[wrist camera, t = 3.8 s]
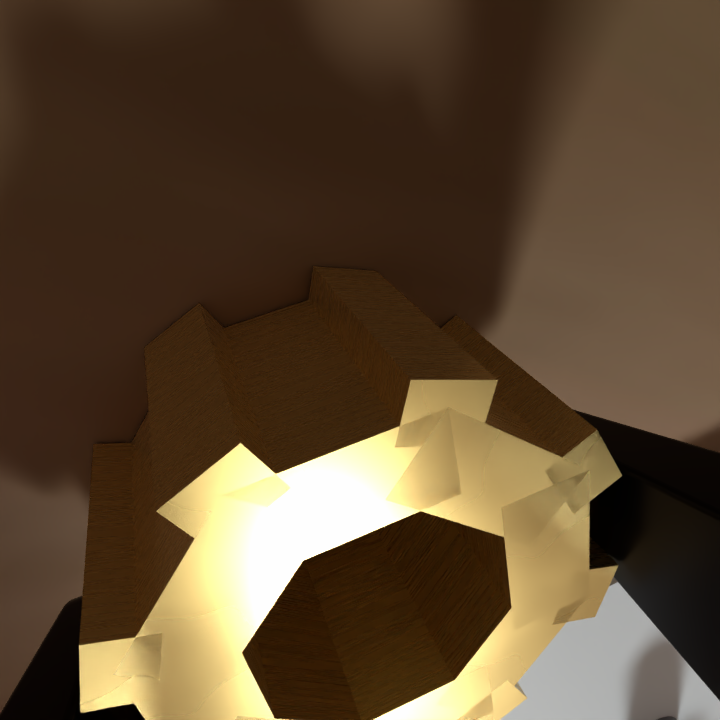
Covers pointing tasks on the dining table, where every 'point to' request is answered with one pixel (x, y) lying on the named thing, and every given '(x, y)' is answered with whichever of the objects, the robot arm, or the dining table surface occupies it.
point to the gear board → (613, 672)
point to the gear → (337, 520)
